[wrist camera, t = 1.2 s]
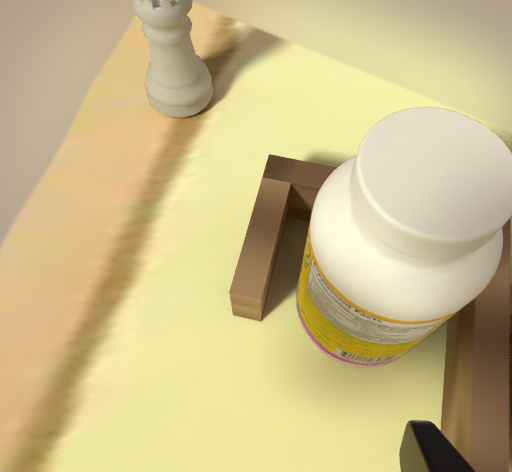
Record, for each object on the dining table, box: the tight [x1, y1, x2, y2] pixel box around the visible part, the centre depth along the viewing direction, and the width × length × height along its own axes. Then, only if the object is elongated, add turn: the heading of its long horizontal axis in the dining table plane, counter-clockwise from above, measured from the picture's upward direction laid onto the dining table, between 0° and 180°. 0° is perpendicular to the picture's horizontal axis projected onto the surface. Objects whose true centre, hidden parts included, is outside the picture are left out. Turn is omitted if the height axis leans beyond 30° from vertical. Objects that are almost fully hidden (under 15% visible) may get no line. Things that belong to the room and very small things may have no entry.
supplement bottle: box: [296, 107, 512, 367], centre depth 19 cm, size 7×7×13 cm
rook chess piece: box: [132, 0, 214, 118], centre depth 28 cm, size 4×4×8 cm
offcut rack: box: [230, 154, 512, 472], centre depth 22 cm, size 14×24×4 cm, turn 76°
